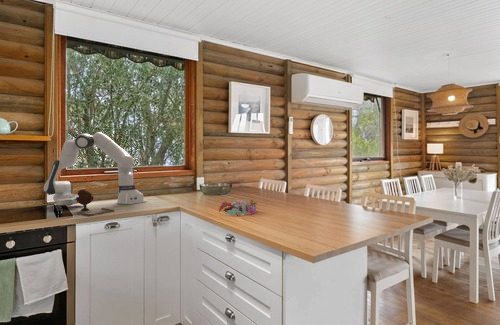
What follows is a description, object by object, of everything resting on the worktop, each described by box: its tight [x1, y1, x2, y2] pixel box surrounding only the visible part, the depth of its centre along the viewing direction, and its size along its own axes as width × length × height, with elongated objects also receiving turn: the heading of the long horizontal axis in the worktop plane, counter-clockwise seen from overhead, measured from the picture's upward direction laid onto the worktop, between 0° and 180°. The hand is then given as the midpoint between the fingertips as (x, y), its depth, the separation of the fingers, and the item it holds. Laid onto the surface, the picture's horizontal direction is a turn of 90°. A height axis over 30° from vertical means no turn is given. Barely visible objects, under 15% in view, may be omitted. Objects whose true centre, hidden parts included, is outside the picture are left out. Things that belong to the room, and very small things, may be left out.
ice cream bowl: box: [76, 189, 94, 212], centre depth 214 cm, size 11×11×15 cm
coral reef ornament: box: [218, 198, 258, 215], centre depth 207 cm, size 25×24×9 cm
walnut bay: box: [76, 207, 115, 217], centre depth 207 cm, size 18×14×1 cm
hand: (78, 201), depth 219 cm, fingers closed
